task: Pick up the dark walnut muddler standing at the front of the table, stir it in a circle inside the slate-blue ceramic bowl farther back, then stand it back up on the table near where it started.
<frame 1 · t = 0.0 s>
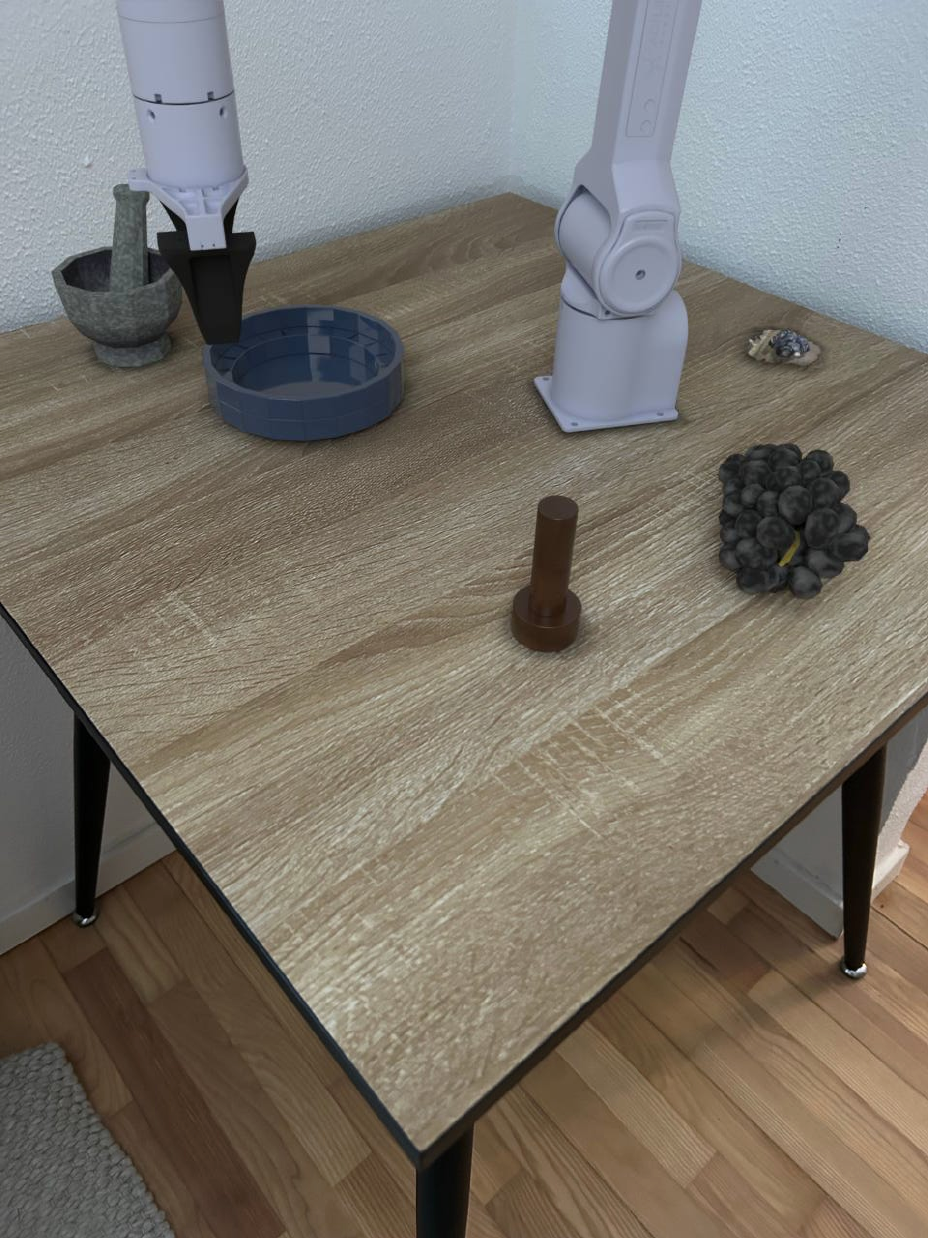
hand: (218, 314, 65), 10 cm above the table, tool pointing down, fingers open, 7 cm apart
mortar and pestle: (137, 347, 83), on the table
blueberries: (780, 352, 85), on the table
bowl: (308, 394, 77), on the table
muddler: (544, 629, 58), on the table
fruit: (769, 551, 65), on the table
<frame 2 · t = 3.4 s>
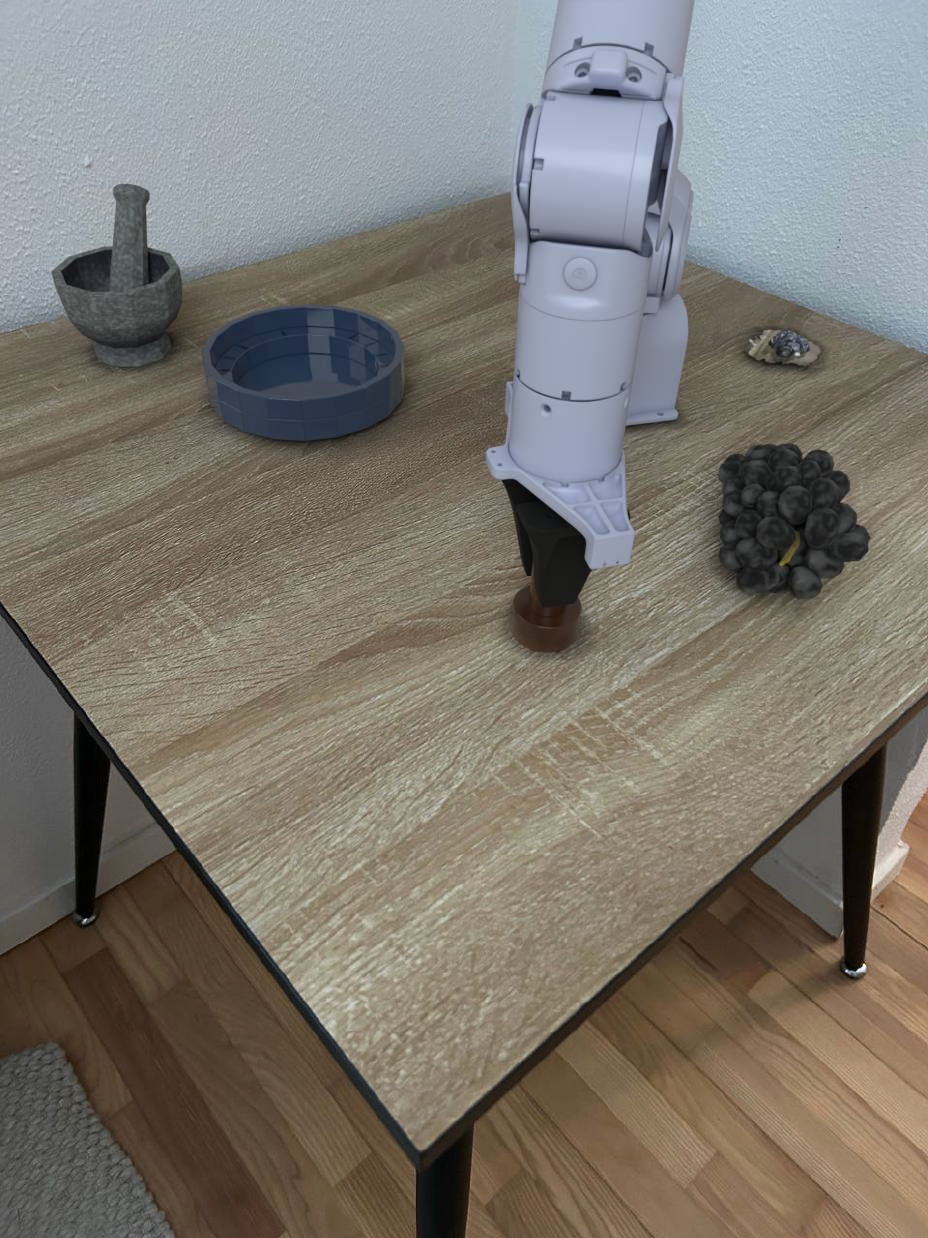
hand: (549, 585, 56), 3 cm above the table, tool pointing down, fingers closed on muddler, 2 cm apart
muddler: (544, 629, 58), on the table, touching gripper
everything else where it was.
when the fingers open (3 cm above the table, at t = 14.7 s): muddler stays where it is, on the table.
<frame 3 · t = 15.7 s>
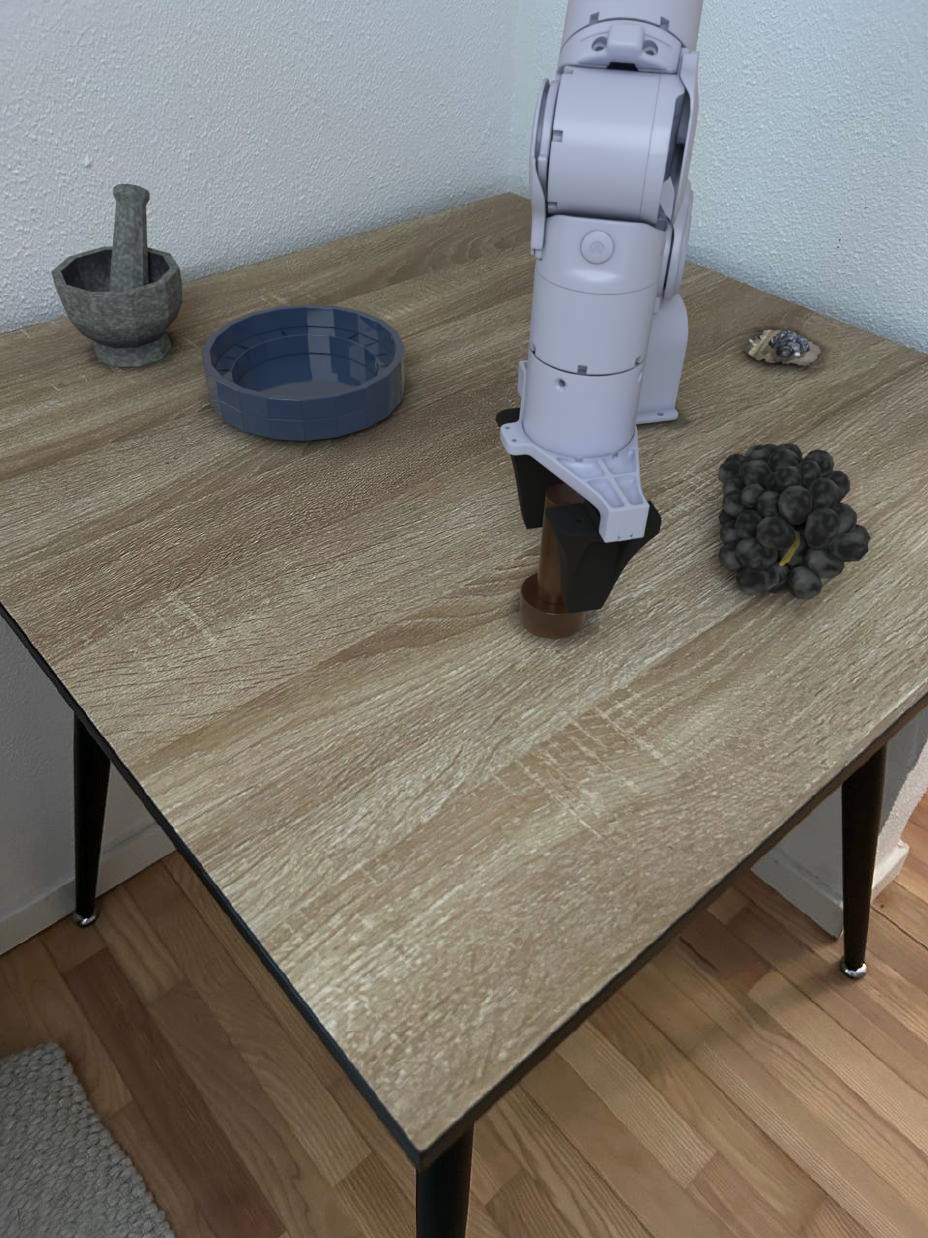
hand: (561, 563, 56), 4 cm above the table, tool pointing down, fingers open, 7 cm apart
muddler: (551, 616, 59), on the table
everything else where it was.
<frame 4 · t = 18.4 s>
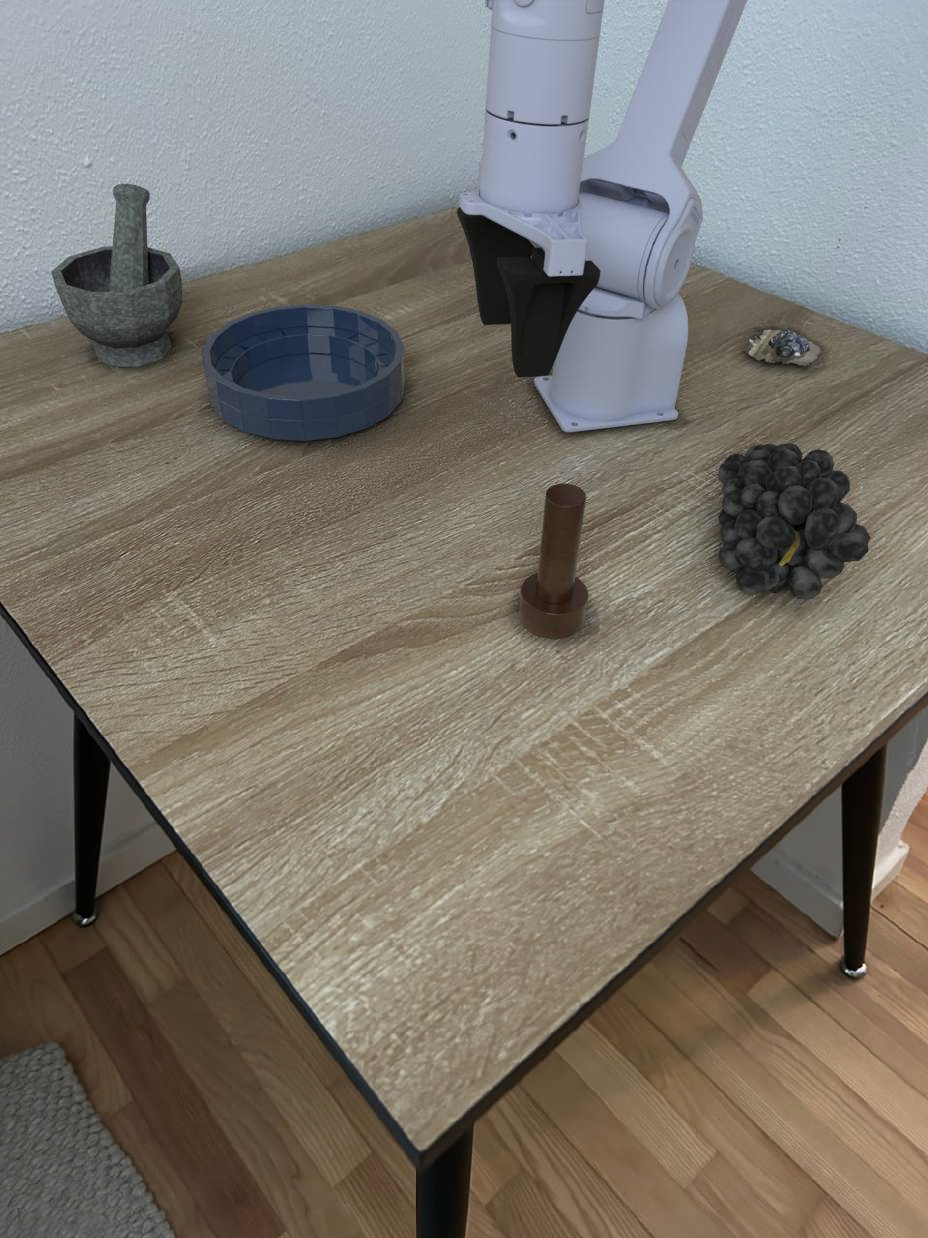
hand: (513, 347, 62), 10 cm above the table, tool pointing down, fingers open, 7 cm apart
nothing on the table moved.
at the end: muddler 0.2 cm from the target spot on the table beside the bowl, on the table; muddler tilted 0°; the gripper is holding nothing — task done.
